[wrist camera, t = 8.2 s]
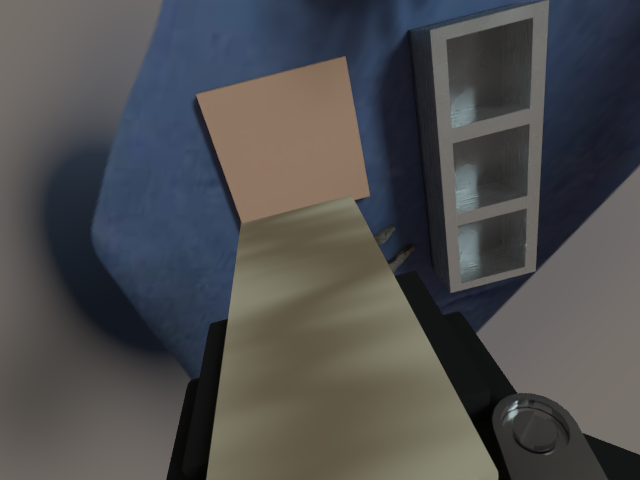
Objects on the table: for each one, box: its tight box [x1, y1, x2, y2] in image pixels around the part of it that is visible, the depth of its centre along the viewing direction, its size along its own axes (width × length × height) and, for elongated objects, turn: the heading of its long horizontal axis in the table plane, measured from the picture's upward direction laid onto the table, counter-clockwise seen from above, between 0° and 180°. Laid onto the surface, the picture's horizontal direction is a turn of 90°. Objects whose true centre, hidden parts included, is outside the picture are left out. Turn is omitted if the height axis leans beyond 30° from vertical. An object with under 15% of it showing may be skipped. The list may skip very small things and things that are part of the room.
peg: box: [206, 195, 498, 480], centre depth 10 cm, size 4×4×10 cm
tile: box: [196, 56, 370, 223], centre depth 28 cm, size 10×10×1 cm
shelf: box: [408, 0, 549, 293], centre depth 29 cm, size 7×19×4 cm, turn 13°
